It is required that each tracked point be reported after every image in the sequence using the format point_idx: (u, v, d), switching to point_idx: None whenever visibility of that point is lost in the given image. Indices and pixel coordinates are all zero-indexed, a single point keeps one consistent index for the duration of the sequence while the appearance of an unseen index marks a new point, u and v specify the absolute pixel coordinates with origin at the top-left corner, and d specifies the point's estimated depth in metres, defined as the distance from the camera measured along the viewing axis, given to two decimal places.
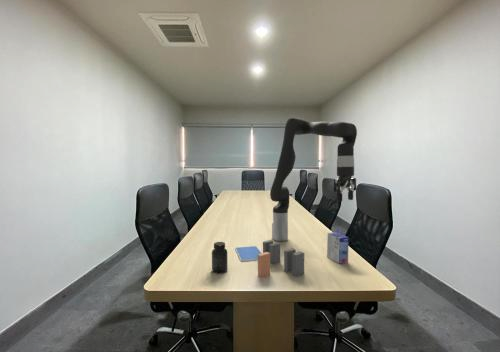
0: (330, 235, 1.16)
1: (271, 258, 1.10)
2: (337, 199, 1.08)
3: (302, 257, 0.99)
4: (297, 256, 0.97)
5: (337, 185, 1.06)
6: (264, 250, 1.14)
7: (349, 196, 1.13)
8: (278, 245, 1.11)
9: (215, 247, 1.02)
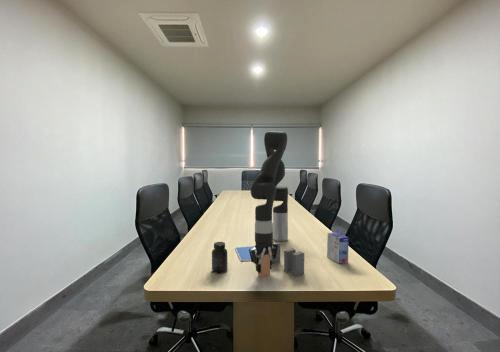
0: (330, 235, 1.16)
1: None
2: (256, 270, 0.97)
3: (302, 257, 0.99)
4: (297, 256, 0.97)
5: (252, 257, 0.95)
6: None
7: None
8: (278, 245, 1.11)
9: (215, 247, 1.02)
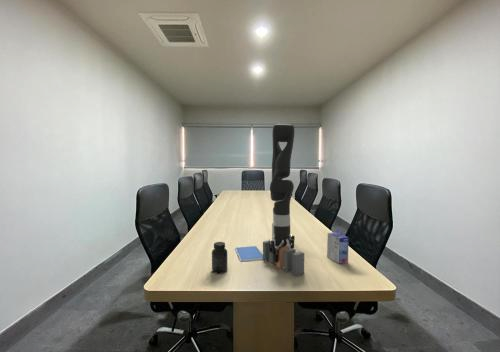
0: (330, 235, 1.16)
1: (271, 258, 1.10)
2: None
3: (302, 257, 0.99)
4: (297, 256, 0.97)
5: (271, 247, 1.03)
6: (264, 250, 1.14)
7: None
8: None
9: (215, 247, 1.02)
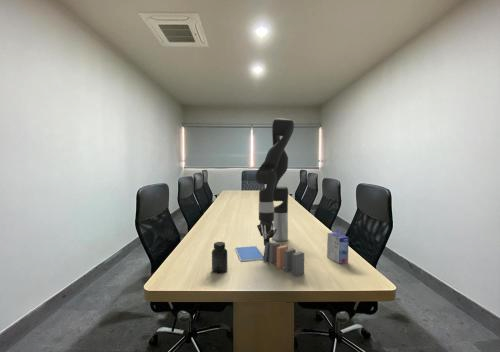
0: (330, 235, 1.16)
1: (271, 258, 1.10)
2: None
3: (302, 257, 0.99)
4: (297, 256, 0.97)
5: None
6: (266, 251, 1.13)
7: None
8: (278, 245, 1.11)
9: (215, 247, 1.02)
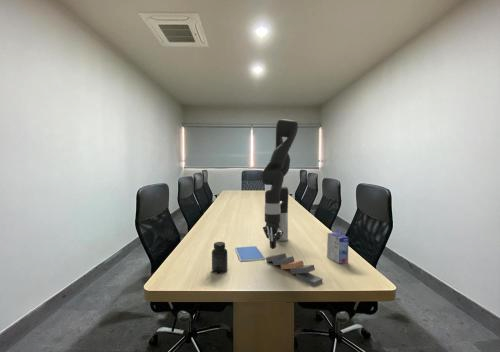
0: (330, 235, 1.16)
1: (277, 264, 1.06)
2: None
3: None
4: None
5: None
6: (272, 259, 1.09)
7: None
8: (291, 261, 1.04)
9: (215, 247, 1.02)
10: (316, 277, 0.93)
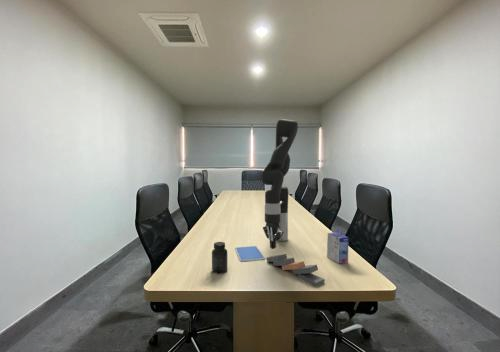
0: (330, 235, 1.16)
1: (277, 264, 1.06)
2: None
3: None
4: None
5: None
6: (273, 259, 1.09)
7: None
8: (292, 262, 1.04)
9: (215, 247, 1.02)
10: (318, 277, 0.93)
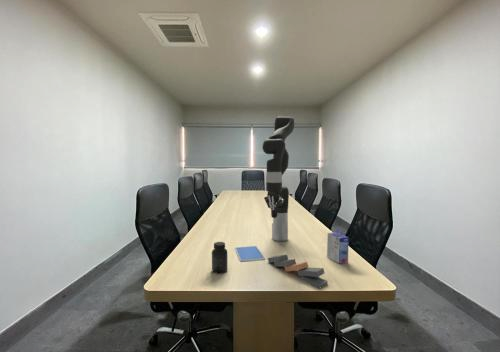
0: (330, 235, 1.16)
1: (278, 265, 1.05)
2: None
3: None
4: None
5: None
6: (274, 260, 1.08)
7: None
8: None
9: (215, 247, 1.02)
10: (321, 279, 0.91)
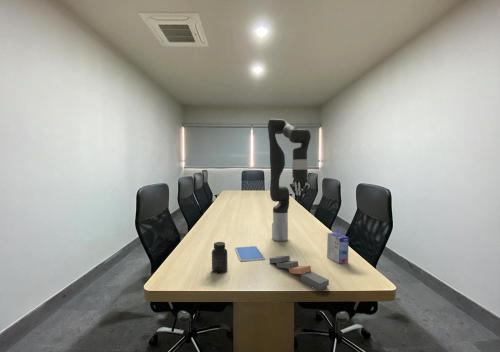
0: (330, 235, 1.16)
1: (280, 266, 1.04)
2: None
3: None
4: None
5: None
6: (276, 260, 1.07)
7: None
8: None
9: (215, 247, 1.02)
10: None
